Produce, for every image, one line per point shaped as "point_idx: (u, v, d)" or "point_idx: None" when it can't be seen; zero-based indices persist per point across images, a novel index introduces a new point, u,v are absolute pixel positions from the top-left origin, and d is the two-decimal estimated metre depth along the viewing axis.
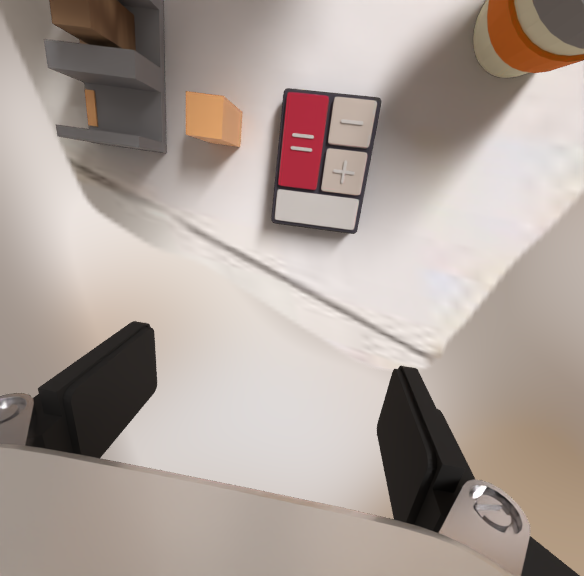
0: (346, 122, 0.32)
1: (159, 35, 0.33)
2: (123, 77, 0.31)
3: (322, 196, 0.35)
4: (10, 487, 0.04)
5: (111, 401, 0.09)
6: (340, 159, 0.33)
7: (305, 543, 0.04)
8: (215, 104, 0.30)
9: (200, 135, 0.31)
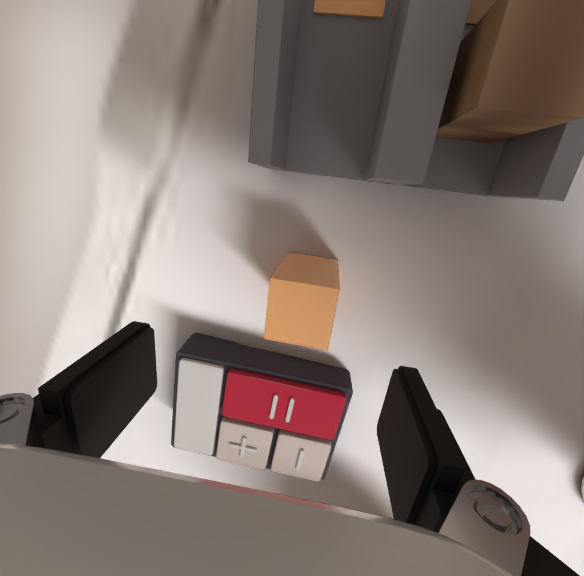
0: (300, 455, 0.25)
1: (450, 189, 0.19)
2: (380, 145, 0.15)
3: (214, 420, 0.25)
4: (10, 487, 0.04)
5: (111, 401, 0.09)
6: (259, 445, 0.26)
7: (305, 542, 0.04)
8: (315, 335, 0.17)
9: (268, 304, 0.17)
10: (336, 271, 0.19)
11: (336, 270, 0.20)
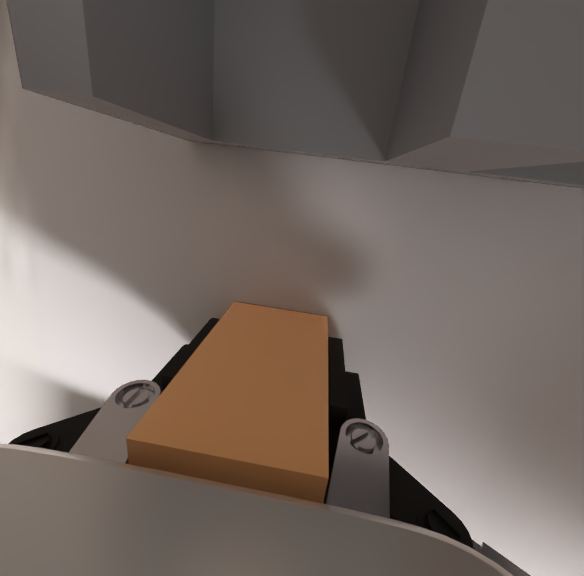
0: None
1: (579, 183, 0.08)
2: (479, 11, 0.04)
3: None
4: (10, 487, 0.04)
5: None
6: None
7: (305, 543, 0.04)
8: None
9: None
10: (323, 364, 0.09)
11: (323, 360, 0.09)
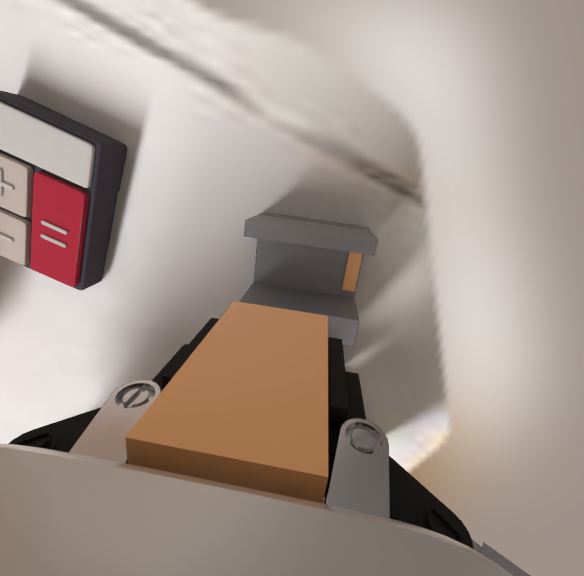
0: (6, 237, 0.27)
1: None
2: (258, 303, 0.24)
3: (26, 159, 0.25)
4: (10, 487, 0.04)
5: None
6: (7, 199, 0.26)
7: (305, 543, 0.04)
8: None
9: None
10: (323, 363, 0.09)
11: (323, 359, 0.09)
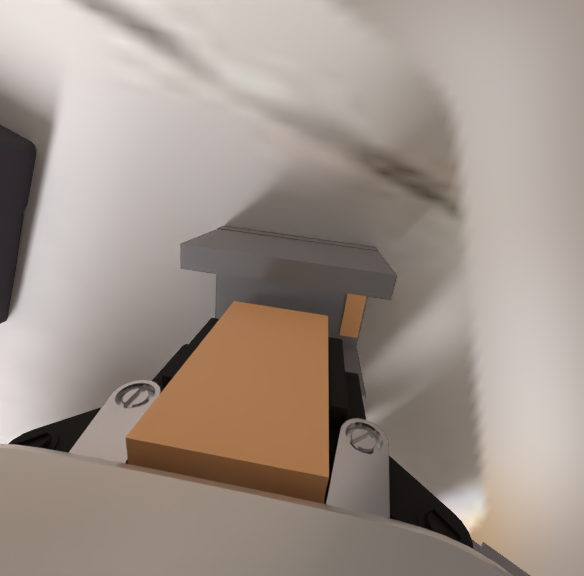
0: None
1: None
2: None
3: None
4: (10, 487, 0.04)
5: None
6: None
7: (305, 543, 0.04)
8: None
9: None
10: (323, 364, 0.09)
11: (323, 359, 0.09)
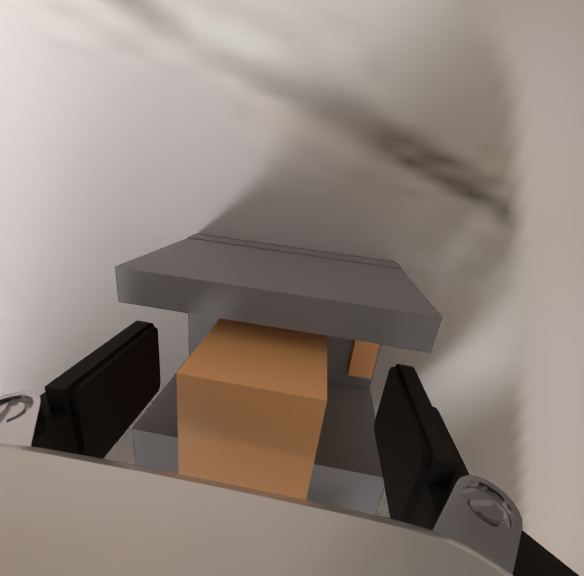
0: None
1: None
2: (172, 431, 0.11)
3: None
4: (10, 487, 0.04)
5: (116, 400, 0.09)
6: None
7: (305, 543, 0.04)
8: (279, 479, 0.08)
9: (180, 421, 0.08)
10: None
11: None
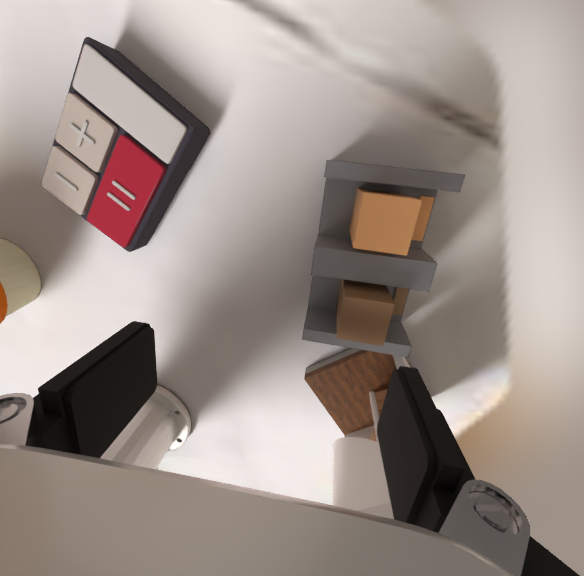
0: (71, 185, 0.28)
1: (311, 286, 0.31)
2: (333, 248, 0.24)
3: (115, 120, 0.25)
4: (10, 487, 0.04)
5: (111, 401, 0.09)
6: (84, 151, 0.27)
7: (305, 543, 0.04)
8: (397, 242, 0.21)
9: (360, 216, 0.21)
10: (408, 196, 0.23)
11: None
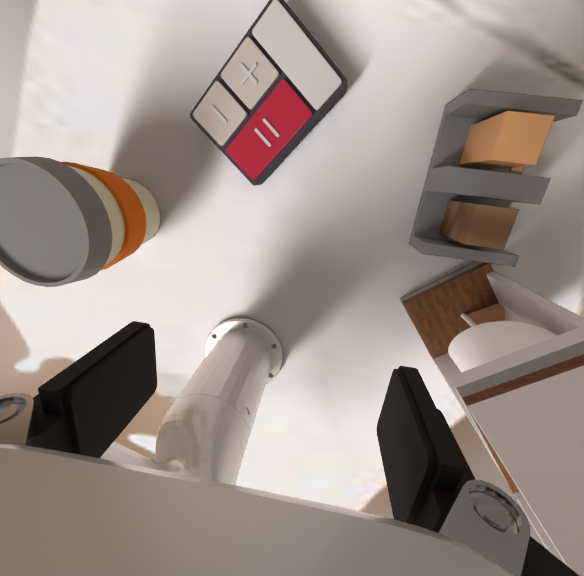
0: (223, 117, 0.33)
1: (418, 217, 0.36)
2: (462, 168, 0.29)
3: (282, 66, 0.30)
4: (10, 487, 0.04)
5: (111, 401, 0.09)
6: (244, 89, 0.31)
7: (305, 543, 0.04)
8: (529, 154, 0.26)
9: (502, 131, 0.26)
10: None
11: None
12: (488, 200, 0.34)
